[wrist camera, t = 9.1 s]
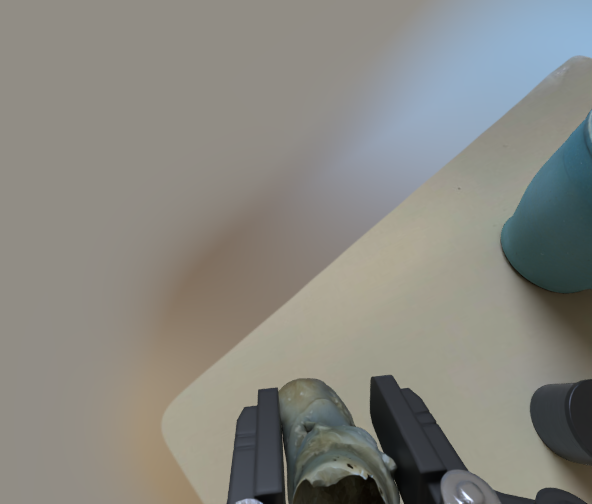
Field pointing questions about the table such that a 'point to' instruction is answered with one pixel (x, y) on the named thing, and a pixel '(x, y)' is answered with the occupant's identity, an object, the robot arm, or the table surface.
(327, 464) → the figurine
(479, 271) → the table surface
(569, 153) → the flower pot
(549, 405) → the steel tin
